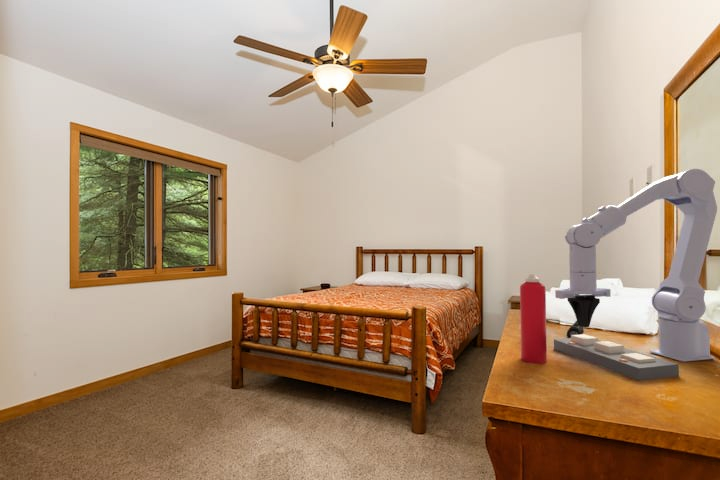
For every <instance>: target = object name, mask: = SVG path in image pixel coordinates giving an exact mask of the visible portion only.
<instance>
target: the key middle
mask: <svg viewBox="0 0 720 480" xmlns="http://www.w3.org/2000/svg"><path fill="white" fill-rule="evenodd" d="M601 341H602V340H601ZM624 348H625V347H624V344H621V343H620V344H619V343H616V342H612V341H609V340H604V341H602V342H594V349H596V350H599V351H602V352H605V353H608V354H613V353H624Z"/></svg>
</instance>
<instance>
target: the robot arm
mask: <svg viewBox="0 0 720 480" xmlns="http://www.w3.org/2000/svg"><path fill="white" fill-rule="evenodd" d="M715 184H716V180H715V179H714V178H713V177H711V175H710V174H708V173H707V172H706V171H705V170H703V169H700V168H693V169H692V168H691V169H687V170H686V171H683V172H679V173H676V174H673V175H672V174H671V175H666V176H664V177H662V178H661V179H659V180H656V181H654V182H652V183H650V184H649V185H647V186H646V187H644V188H642V189H641V190H640V191H638V192H636V193H635V194H633V195H632V196H630V197H628V198H626V200H624V201H623V202H622V203H620V204H618V205H617V206H616V205H610V204H609V205H607V206H605V205H602V206H600V207H598V209H597V211H598V212H596V213H594V214H593V215H591V216H590V217H588V218H587V217H584V218H582V219H581V224H574V225H572V226H571V227H569V228H568V229H567V231H566V234H565V235H564V238H565V242H566V243H567V244H568V245H569V255H568V256H569V257H568V258H569V259H568V260H569V261H568V262H569V287H568V288H565V289H555V291H554V293H555V299H559V300H563V299H567V302H568V303H569V305H570V306H571V308H572V310H573V312H574V315H575V318H576V321H577V322H578V326H581V327H583V328H589V327H590V325H591V321H592V318H593V314H594V313H595V312H596V311H595V310H596V309H597V307H598V305H599V304H600V298H601V297H611V288H606V287H603V288H599V287H598V288H597V253H596V252H597V247H596V246H597V244H599V242H600V241H601V239H602V238H604V237H605V236H607V235H608V234H610V233H612V232H614V231H616V230H617V229H619V228H620V227H622V226H624V225H625V224H626V221H627V218H628V217H629V216H630V215H632V214H634V213H635V212H637V211H639V210H641V209H642V208H644V207H646V206H648V205H650V204H651V203H653V202H655V201H659V200H664V201H666V202H667V203H670V204H671V205H673V206H674V207H676V208H678V209H679V210H680V211H681V212H682V213H683V214H684V216H683V220H682V224H681V228H680V232H679V234H678V238H677V239H678V240H677V243H676V246H675V250H674V254H673V258H672V262H671V265H670V268H669V273H668V276H667V277H666V278H665V279H663V280H662V281H660V283H659V287H658V289H657V290H656V291H655V292H654V293H653V295H652V297H651V305H652V306H653V308H654V310H656V311H657V317H658V319H657V320H658V349H651V350H649V353H651V354H654V355H658V356H662V357H664V358H669V359H673V360H676V361H679V362H682V363H683V362H684V363H685V362H694V361H695V362H696V361H705V360H714V359H715V356H712V355H711V350H710V349H711V347H710V346H711V345H710V344H711V343H710V342H711V341H710V329H709V327H708V326H707V324H706V323H705V322H704V321H703V320H700V318H701V317H702V316H704V314H705V312H706V308H707V306H706V302H705V294H706V290H705V289H704V288H703V287H702V285H701V283H700V282H699V280H700V277H701V274H702V273H701V272H702V268H703V265H704V261H705V257H706V254H707V251H708V250H707V249H708V246H709V243H710V239H711V234H712V231H713V227H714V224H715V220H716V216H717V212H718V206H717V201H716V196H715V193H714V188H715ZM598 297H600V298H598Z"/></svg>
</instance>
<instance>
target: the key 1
mask: <svg viewBox="0 0 720 480" xmlns="http://www.w3.org/2000/svg"><path fill="white" fill-rule="evenodd" d="M598 341H599V340H598V337H595V336H592V335H588V334H585V333H581V334H580V335H571V342H574V343H577V344H580V345H584V346H585V345H594V342H598Z"/></svg>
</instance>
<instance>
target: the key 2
mask: <svg viewBox="0 0 720 480" xmlns="http://www.w3.org/2000/svg"><path fill="white" fill-rule="evenodd" d="M621 358H623V359H627V360H630V361H633V362H636V363H639V364H641V363H651V362H655V358H652V357H648V356H645V355H642V354H638V353H630V354H621Z"/></svg>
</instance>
